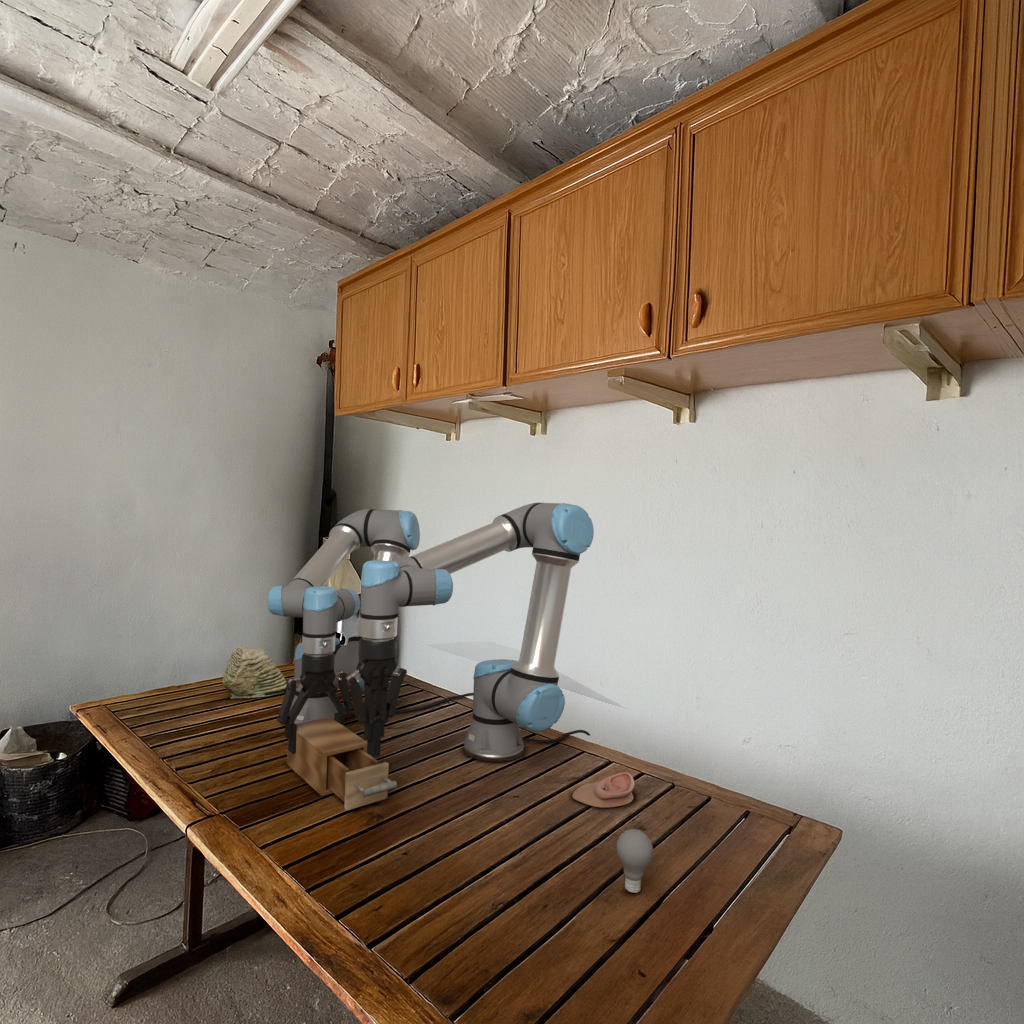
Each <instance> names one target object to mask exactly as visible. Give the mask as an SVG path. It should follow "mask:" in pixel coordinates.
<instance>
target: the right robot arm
mask: <svg viewBox="0 0 1024 1024" xmlns="http://www.w3.org/2000/svg"><path fill="white" fill-rule="evenodd" d="M594 532H595V530H594V524H593V521H592V518H591V517H590V516H589V513H588V512H587V511H586V510H585V509H584V507H581V506H579V505H577V504H572V503H565V502H561V503H559V502H532V503H528V504H525V505H522V506H519V507H517V508H515V509H511V510H510V511H507V512H505V513H503V514H500V515H497V516H495V517H494V518H493V520H492V522H491V523H489V524H487V525H484V526H481V527H479V528H476V529H473V530H472V531H469V532H467V533H464V534H461V535H459V536H457V537H454V538H452V539H450V540H447V541H445V542H442V543H440V544H437V545H435V546H433V547H430V548H428V549H425V550H423V551H420V552H418V553H416V554H413V555H411V556H410V555H409V557H408V558H405V559H402V560H400V561H398V562H396V561H388V560H373V559H372V560H368V561H365V562H364V563H363V565H362V569H361V570H362V571H361V576H360V583H359V584H360V608H359V610H360V612H359V616H360V626H359V636H360V637H362V638H361V639H360V640H359V651H358V657H359V662H358V665H357V667H356V671H355V672H354V673H352V674H351V675H346V676H345V680H346V682H347V683H348V685H349V687H350V690H349V693H350V697H351V701H352V704H353V712H354V713H355V715H354V717H355V720H357V721H358V722H359V723H361V724H364V727H363V729H364V730H363V737H364V740H366V742H367V753H368V754H369V755H370V756H372V757H373V758H376V757H380V756H381V741H382V738H384V737H385V728H386V727H385V726H386V724H387V723H388V721H389V718H393V717H394V716H395V714H396V713H395V710H397V704H398V701H399V695H400V692H401V688H402V684H403V681H404V678H406V675H407V674H408V670H407V669H405V668H404V667H401V666H399V665H398V661H397V659H396V658H397V657H396V656H397V654H398V653H397V650H398V649H397V648H398V640H397V638H396V637H397V636H398V620H399V609H400V608H405V607H419V606H420V607H421V606H437V605H443V604H446V603H448V602H449V601H450V600H451V598H452V596H453V593H454V581H453V577H452V575H451V574H453V573H456V572H458V571H461V570H463V569H465V568H467V567H470V566H472V565H473V564H477V563H478V562H481V561H483V560H485V559H488V558H490V557H492V556H494V555H497V554H499V553H501V552H503V551H505V552H506V553H511V552H513V551H516V550H518V549H524V548H532V550H531V555H532V556H533V558H534V559H535V561H536V564H535V569H534V574H533V580H532V586H531V591H530V597H529V603H528V608H527V614H526V620H525V625H524V631H523V638H522V641H521V648H520V654H519V659H518V660H516V659H504V658H503V659H501V658H499V659H488V660H483V661H479V662H478V663H477V664H476V665H475V667H474V673H473V678H472V679H473V692H472V693H473V696H472V719H471V722H470V724H469V728H468V730H467V733H466V736H465V738H464V742H463V751H464V753H465V754H466V755H467V756H468V757H470V758H472V759H474V760H476V761H477V760H478V761H481V762H487V763H505V762H509V761H510V762H511V761H514V760H516V759H518V758H520V757H522V755H523V754H524V747H525V745H524V744H525V743H524V742H531V743H539V744H540V743H555V742H559V741H562V740H563V739H564V738H565V737H568V736H572V735H575V734H580V733H581V734H582V733H583V734H585V735H586V736H588V737H589V736H591V734H590V733H589V732H588V731H587V730H584V729H575V730H572V731H568V732H565V733H562V734H561V736H559V737H557V738H551V739H537V738H530V737H523V736H522V732H521V729H524V730H528V731H531V732H534V733H541V732H546V731H548V730H549V729H551V728H552V727H553V726H554V725H555V724H556V723H558V721H559V720H560V718H561V717H562V714H563V712H564V710H565V704H566V698H565V694H563V689H561V688H560V687H559V686H558V685H559V679H560V673H559V672H558V671H557V669H556V666H555V665H556V660H557V653H558V647H559V642H560V636H561V631H562V626H563V625H562V624H563V619H564V612H565V608H566V602H567V595H568V590H569V584H570V578H571V572H572V569H573V567H575V566H576V565H577V564H579V563H580V557H581V554H583V553H585V552H586V551H587V550H588V548H590V547H591V545H592V543H593V541H594V535H595V533H594ZM360 677H361V678H362V679H363V681H364V688H365V692H364V695H363V693H362V691H361V688H360V685H359V683H360ZM363 696H364V698H363Z"/></svg>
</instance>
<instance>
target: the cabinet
mask: <svg viewBox="0 0 1024 1024" xmlns="http://www.w3.org/2000/svg"><path fill="white" fill-rule="evenodd" d="M296 725H297V733H296V753H295V754H292V753H291V752H290V751H289V750H288V748H287V752H286V765H287V766H288V767H289V768H290V769H291V770H293V771H294V772H295V773H296V774H297V775H298V777H300V778H301V779H302V780H303V781H305V783H306V784H308V786H309V787H311V788H312V789H313V790H314V791H315V792H316V793H317V794H319V795H320V796H321V797H324V796H328V795H332V794H334V793H333V792H332V791H331V790H330V789H329V788H328V787H326V779H327V756H331V755H335V754H339V753H343V752H347V751H351V750H355V749H359V748H360V749H362V750H363V751H365V752H366V753H367V740H366V739H363V738H362V737H360V736H359V735H358V734H356V733H355V732H353V731H351V730H350V729H349V728H347V727H346V726H343V725H341V724H340V723H338V722H337V721H335V720H334V719H332V718H331V717H328V718H323V719H318V720H313V721H308V722H303V723H298V724H296ZM288 740H289V739H287V741H288Z"/></svg>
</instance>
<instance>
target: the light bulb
mask: <svg viewBox="0 0 1024 1024" xmlns="http://www.w3.org/2000/svg"><path fill="white" fill-rule="evenodd" d="M615 849H616V854H617V857H618V859H619V861H620V863H621V865H622V867H623V873H624V874H623V875H624V876H625V878H624V888H625V890H627V891H628V892H630V893H634V894H635V893H639V892H640V891H641V889H642V887H641V886H642V879H643V877H644V875H645V871H646V868H647V867H648V866H649V864H650V863H651V861H652V859H653V855H654V847H653V843H652V841H651V838H649V836H648V835H647V834H646V833H645V832H643V831H642V830H641V829H636V828H629V829H627V830H625V831H623V832H622V833H621V834H620V835H619V837H618V839H617V841H616V847H615Z"/></svg>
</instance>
